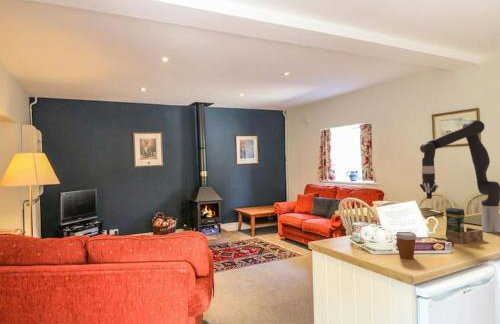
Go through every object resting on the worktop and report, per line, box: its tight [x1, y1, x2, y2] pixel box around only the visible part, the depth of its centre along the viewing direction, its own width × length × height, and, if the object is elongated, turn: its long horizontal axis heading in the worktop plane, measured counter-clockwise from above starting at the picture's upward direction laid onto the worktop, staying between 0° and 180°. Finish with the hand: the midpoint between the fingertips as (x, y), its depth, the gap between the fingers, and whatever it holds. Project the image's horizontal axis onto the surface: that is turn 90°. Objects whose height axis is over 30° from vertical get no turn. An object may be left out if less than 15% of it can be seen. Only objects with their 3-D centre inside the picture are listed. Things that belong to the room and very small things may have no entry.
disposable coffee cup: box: [395, 231, 418, 260], centre depth 162 cm, size 10×10×12 cm
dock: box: [446, 227, 484, 245], centre depth 192 cm, size 19×9×6 cm, turn 112°
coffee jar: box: [445, 207, 465, 238], centre depth 197 cm, size 10×8×19 cm
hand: (429, 198), depth 214 cm, fingers closed
